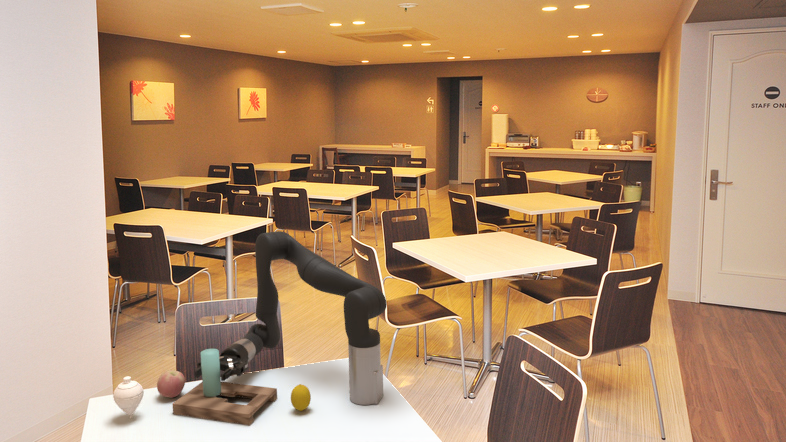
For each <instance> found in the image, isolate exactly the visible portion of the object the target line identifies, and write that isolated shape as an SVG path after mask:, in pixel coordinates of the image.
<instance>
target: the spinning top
mask: <svg viewBox="0 0 786 442" xmlns="http://www.w3.org/2000/svg"><path fill="white" fill-rule="evenodd" d="M144 392H145V391H144V388H143V386H142V384H140V383H139V382H138V381H136V380H132V377H131V376H128V375H127V376H124V377H123V381H122V382H120V383H119V384H117V387H116V388H115V389H114V391H113V395H112V398H113V401H114V403H115V404H116V405H117V407H118V408H119V409H121V411H123V412H124V413H125V414H126V415H127V416H129V419H132V418H131V417H132V415H133V414H134V413H135V412H136V410H137V409H138V407H139V406H140V404H141V402H142V400H143V397H144Z"/></svg>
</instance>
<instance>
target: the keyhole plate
mask: <svg viewBox="0 0 786 442" xmlns="http://www.w3.org/2000/svg"><path fill="white" fill-rule="evenodd" d="M218 396H221V397H222V398H216V397H207V396H204V395H203V382H202V381H201V382H200V383H199V384H196V386H193V388H192V389H191V390H189V391H187V393H185V394H183V395H182V396H181V397H179V398H178V399H177V400H175V401H174V402H173V403H172V414H173V415H176V416H183V417H188V418H189V417H190V418H196V419H204V420H211V421H218V422H224V423H231V424H235V425H237V424H238V425H244V426H251V425H252V424H253V423H254V421H255V420H254V414H255V413H256V412H257V411H258V410H259V409H260V408H261V407H263V406H264V405H265V404H266V403H267V402H272V403H273V402H274V403H275V402H276V401H277V400H278V388H275V387H269V386H261V385H260V386H259V385H251V384H244V383H236V382H229V381H228V382H227V381H221V393H220V394H219V395H218ZM223 397H228V398H229V397H230V398H235V397H236V398H242V399H243V398H244V399H251V400H249V402H248V403H246V404H241V403H232V402H228V398H223Z"/></svg>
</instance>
